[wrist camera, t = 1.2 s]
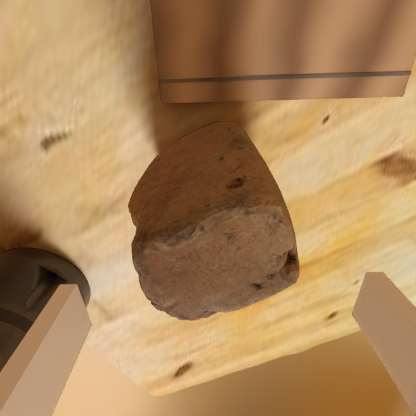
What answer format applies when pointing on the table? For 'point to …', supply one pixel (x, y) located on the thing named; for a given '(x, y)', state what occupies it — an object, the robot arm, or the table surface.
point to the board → (282, 49)
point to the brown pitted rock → (211, 226)
